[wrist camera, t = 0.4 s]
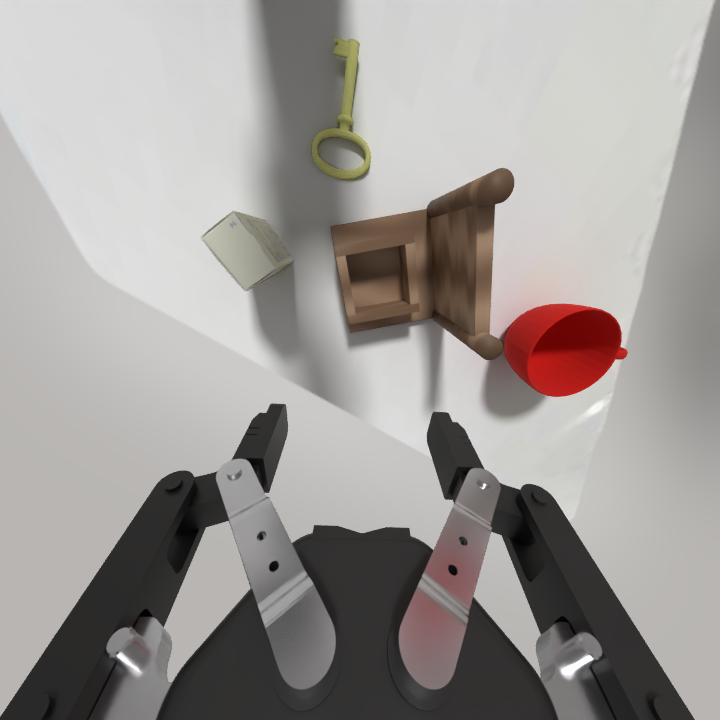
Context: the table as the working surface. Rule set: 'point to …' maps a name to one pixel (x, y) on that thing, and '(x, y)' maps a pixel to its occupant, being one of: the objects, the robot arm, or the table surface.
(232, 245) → the skincare box
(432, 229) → the headboard stand
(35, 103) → the table surface
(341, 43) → the key
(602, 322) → the ceramic cup
